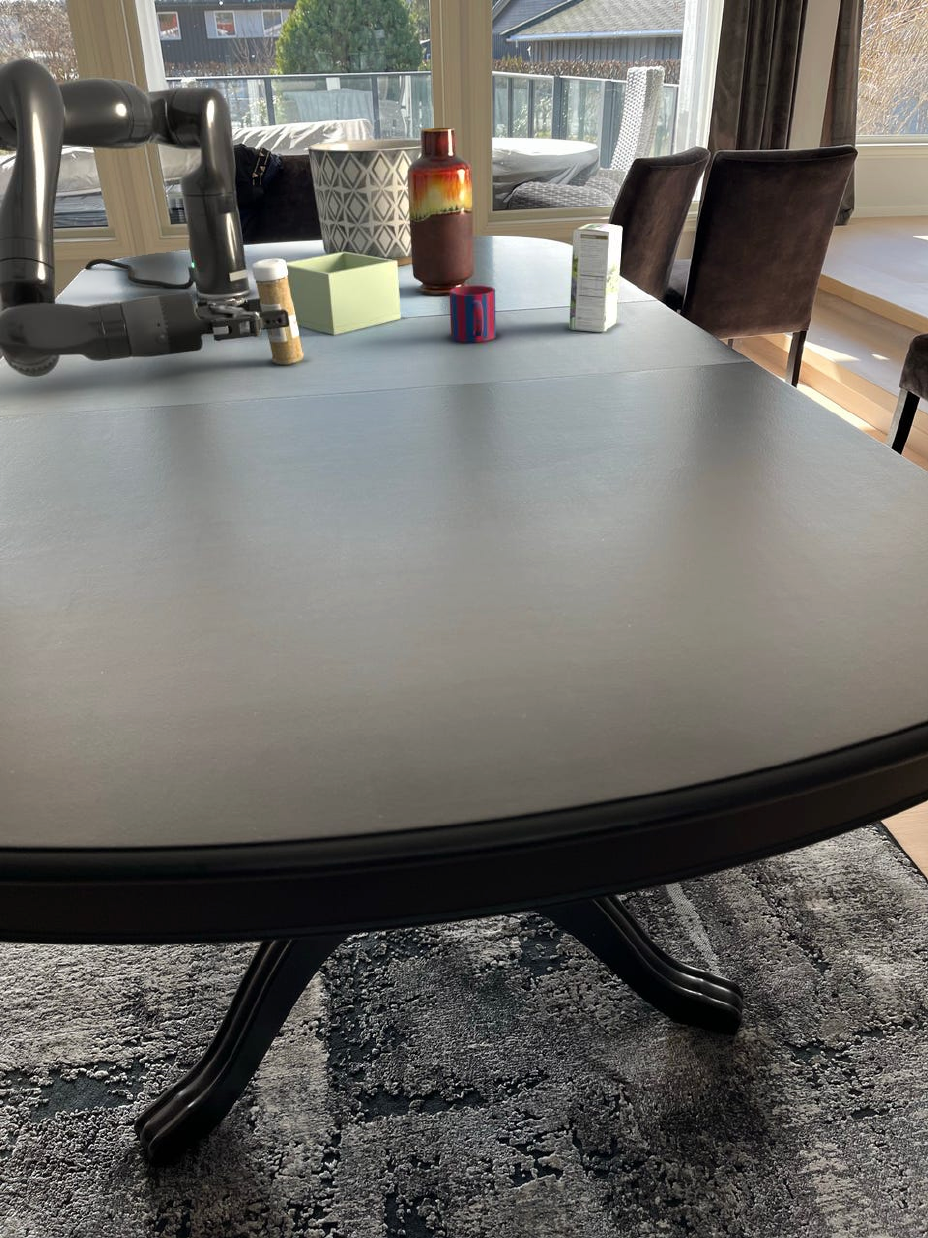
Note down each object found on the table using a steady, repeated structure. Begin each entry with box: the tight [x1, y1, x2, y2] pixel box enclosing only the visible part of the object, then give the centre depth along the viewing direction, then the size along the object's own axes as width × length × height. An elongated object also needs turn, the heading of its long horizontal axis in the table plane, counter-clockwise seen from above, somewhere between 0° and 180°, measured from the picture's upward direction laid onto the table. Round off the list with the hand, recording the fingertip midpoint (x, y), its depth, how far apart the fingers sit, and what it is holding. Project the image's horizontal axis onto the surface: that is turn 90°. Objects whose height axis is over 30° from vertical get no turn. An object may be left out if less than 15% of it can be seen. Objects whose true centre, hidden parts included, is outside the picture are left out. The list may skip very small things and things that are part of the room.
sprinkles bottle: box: [251, 258, 305, 366], centre depth 129 cm, size 5×5×14 cm
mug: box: [449, 285, 497, 344], centre depth 139 cm, size 7×10×7 cm
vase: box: [407, 127, 474, 297], centre depth 164 cm, size 11×11×26 cm
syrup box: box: [568, 222, 623, 333], centre depth 141 cm, size 6×6×14 cm
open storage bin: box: [285, 252, 402, 336], centre depth 151 cm, size 14×14×9 cm
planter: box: [307, 138, 421, 266], centre depth 193 cm, size 26×26×22 cm
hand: (281, 311), depth 130 cm, fingers open, 8 cm apart
